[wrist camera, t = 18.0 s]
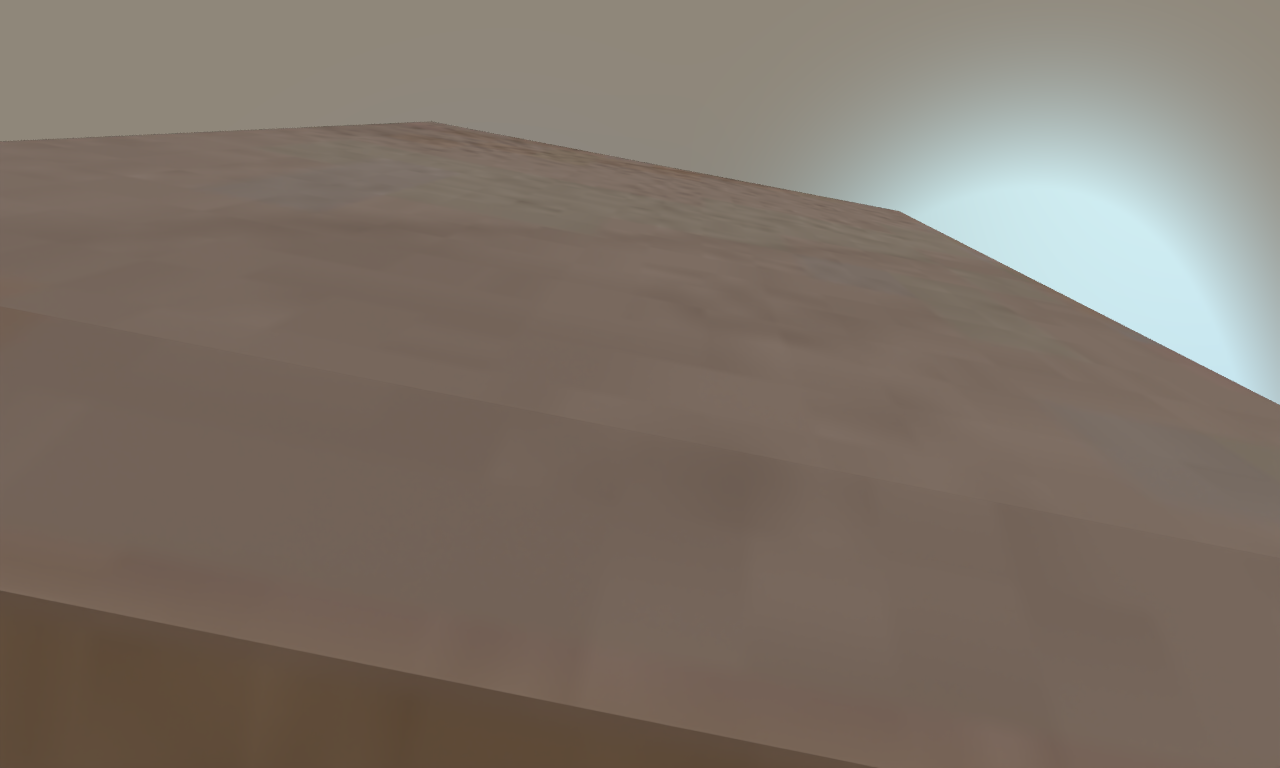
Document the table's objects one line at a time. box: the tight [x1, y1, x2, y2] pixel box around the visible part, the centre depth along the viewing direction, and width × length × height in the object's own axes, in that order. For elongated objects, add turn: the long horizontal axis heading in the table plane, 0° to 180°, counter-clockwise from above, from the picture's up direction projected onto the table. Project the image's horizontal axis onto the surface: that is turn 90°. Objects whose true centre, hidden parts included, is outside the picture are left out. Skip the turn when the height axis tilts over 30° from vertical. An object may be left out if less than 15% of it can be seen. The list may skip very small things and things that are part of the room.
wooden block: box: [0, 122, 1280, 768], centre depth 10 cm, size 10×10×20 cm
